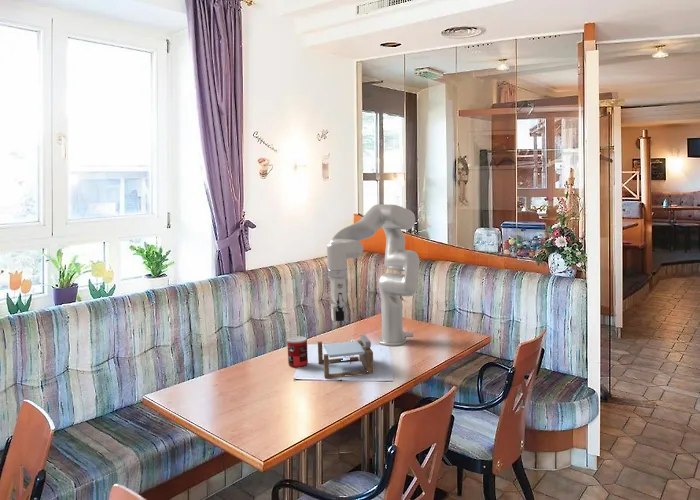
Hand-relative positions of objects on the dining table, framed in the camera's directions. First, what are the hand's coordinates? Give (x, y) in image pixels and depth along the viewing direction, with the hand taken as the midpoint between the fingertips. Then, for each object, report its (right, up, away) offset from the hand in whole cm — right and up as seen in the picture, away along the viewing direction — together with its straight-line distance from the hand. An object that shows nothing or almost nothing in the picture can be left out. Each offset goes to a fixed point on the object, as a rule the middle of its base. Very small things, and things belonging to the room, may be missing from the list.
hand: (338, 318), depth 229 cm
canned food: (-17, -20, +9) cm, 28 cm away
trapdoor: (+3, -13, +3) cm, 14 cm away
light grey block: (0, 0, 0) cm, 0 cm away
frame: (+3, -20, +3) cm, 21 cm away
